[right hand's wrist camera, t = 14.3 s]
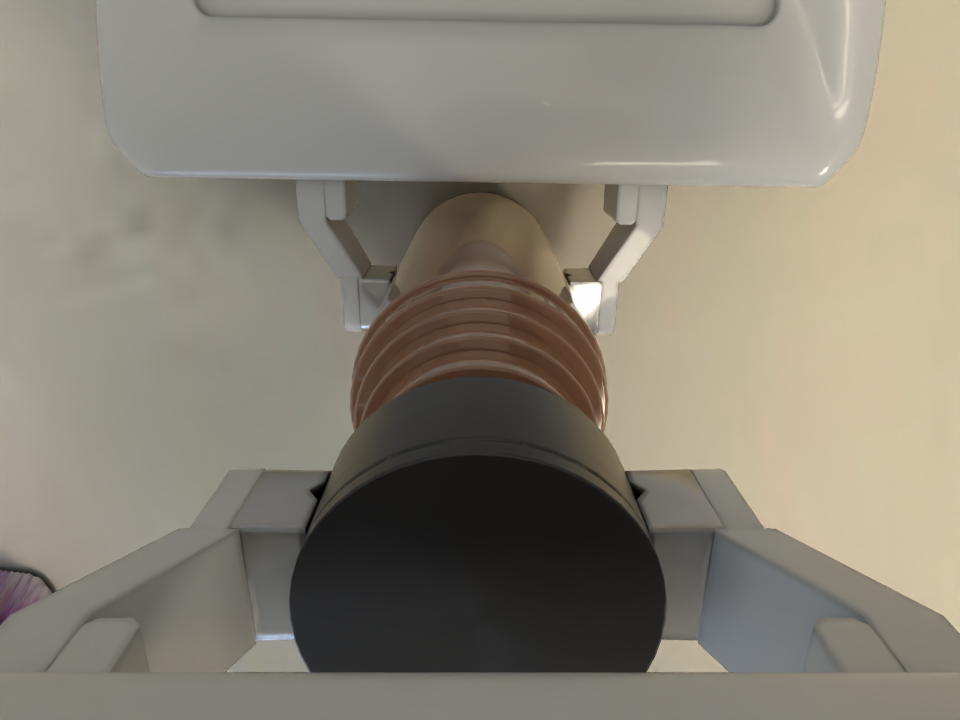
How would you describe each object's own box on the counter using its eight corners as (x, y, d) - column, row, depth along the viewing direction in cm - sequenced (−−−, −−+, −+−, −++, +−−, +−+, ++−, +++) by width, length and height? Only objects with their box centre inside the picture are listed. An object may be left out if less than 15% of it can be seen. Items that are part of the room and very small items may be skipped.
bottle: (401, 319, 27) (251, 728, 9) (419, 181, 25) (272, 366, 7) (535, 340, 27) (635, 774, 10) (563, 205, 25) (750, 439, 8)
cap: (320, 615, 11) (282, 737, 9) (336, 355, 9) (294, 429, 7) (596, 644, 11) (624, 771, 9) (658, 394, 9) (710, 479, 7)
